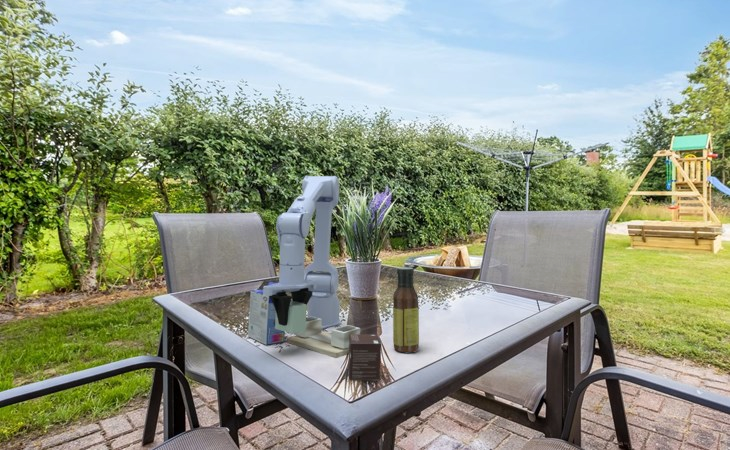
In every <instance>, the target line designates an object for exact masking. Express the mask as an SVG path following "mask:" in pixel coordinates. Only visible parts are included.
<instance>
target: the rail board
mask: <svg viewBox="0 0 730 450" xmlns="http://www.w3.org/2000/svg"><path fill="white" fill-rule="evenodd" d="M321 328H322V319H320V318H315V317H307V316H306V330H305V331H301V332H297V333H294V334H293V336H288V337H285V343H288V344H292V345H295V346H297V347H301V348H304V349H307V350H310V351H314V352H317V353H318V354H319V353H320V354H323V355H327V356H329V357H333V358H335V359H337V358H340V357H341V356H345V355H347V354H348V355H349V335H350V334H361V327H357V326H353V325H349V324H348V325H344V326H340V327H337V328H333V329H331V331H330V332H328V331H325V330H322V329H321Z"/></svg>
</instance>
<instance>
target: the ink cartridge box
mask: <svg viewBox="0 0 730 450" xmlns="http://www.w3.org/2000/svg"><path fill="white" fill-rule="evenodd" d="M276 283H277V282H272V281H269V283H268V284H267V286H268V285H272V284H276ZM249 296H250V299H249V314H248V315H249V316H248V330H247V336H248V338H250V339H253V340H255V341H257V342H259V343H261V344H263V345H265V346H267V345H273V344H280V343H285V338H286V337H285V334H286V333H285V331H281V330H278V329H275V318H276V310H275V307H274V305H273V303H272V301H271V299H270V298H269V296H266V295H263V289H256V290H254V289H253V290H250V295H249Z"/></svg>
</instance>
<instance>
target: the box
mask: <svg viewBox="0 0 730 450" xmlns="http://www.w3.org/2000/svg"><path fill="white" fill-rule="evenodd" d="M381 351H382V342H381V339H380V338H379V335H378V334H376V333H375V334H374V333H373V334H370V333H369V334H361V333H360V334H350V335H349V353H348V365H347V366H348V367H347V368H348V380H349V381H354V382H355V381H380V380H381V359H382V358H381V356H382V352H381Z"/></svg>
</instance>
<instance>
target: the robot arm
mask: <svg viewBox="0 0 730 450" xmlns="http://www.w3.org/2000/svg"><path fill="white" fill-rule="evenodd" d="M301 187H302V194H301V195H298V196H297V197H296V198H295V199H294V201H293V202H292V203H291V206H289V208H288V210H287V212H282V213H281V214H279V215H278V216H277V218H276V219H277V220H276V224H275V229H276V235H277V243H278V245H279V268H278V269H279V275H278V280H279V281H278V282H275V283H276V284H272V285H268V284H267V285H263V287H262V288H263V289H262V290H263V295H266V296H269V298H270V299H271V301H272V303H273V305H274V307H275V310H276V313H277V318H278V322H279V324H280V325H283V326H286V325H287V322H288V310H289V305H290V302H291V300H292V301H296V302H301V303H304V304H306V307H307V315H306V318H307V317H315V318H320V319H322V328H321V330H323V329H327V328H330V327H334V326H338V325H340V324H342V322H341V321H340V299H339V297H338V296H337V292H338V289H339V284H340V283H339V270H338V268H337V267H336V266H335V265H334V264H333V263H332V262H331V261H330V256H331V255H330V254H331V232H332V231H331V230H332V214H333V209H334V207H336V206H338V204H339V202H340V201H339V200H340V180H339V178H338V177H337V176H336V175H333V176H332V175H331V176H328V175H326V176H325V175H324V176H318V175H316V176H314V175H305V176H304V178H302V184H301ZM314 213H315V225H314V226H315V228H314V240H313V241H314V243H313V244H314V245H313V256H312V257H313V258H312V259H313V260H312V262H311V263H309V264H308V265H307V266H305V265H306V264H305V262H306V261H305V259H306V258H305V257H306V238H307V237H308V236H309V232H310V226H311V219H312V217H313V215H314ZM288 293H290V295H288Z"/></svg>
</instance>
